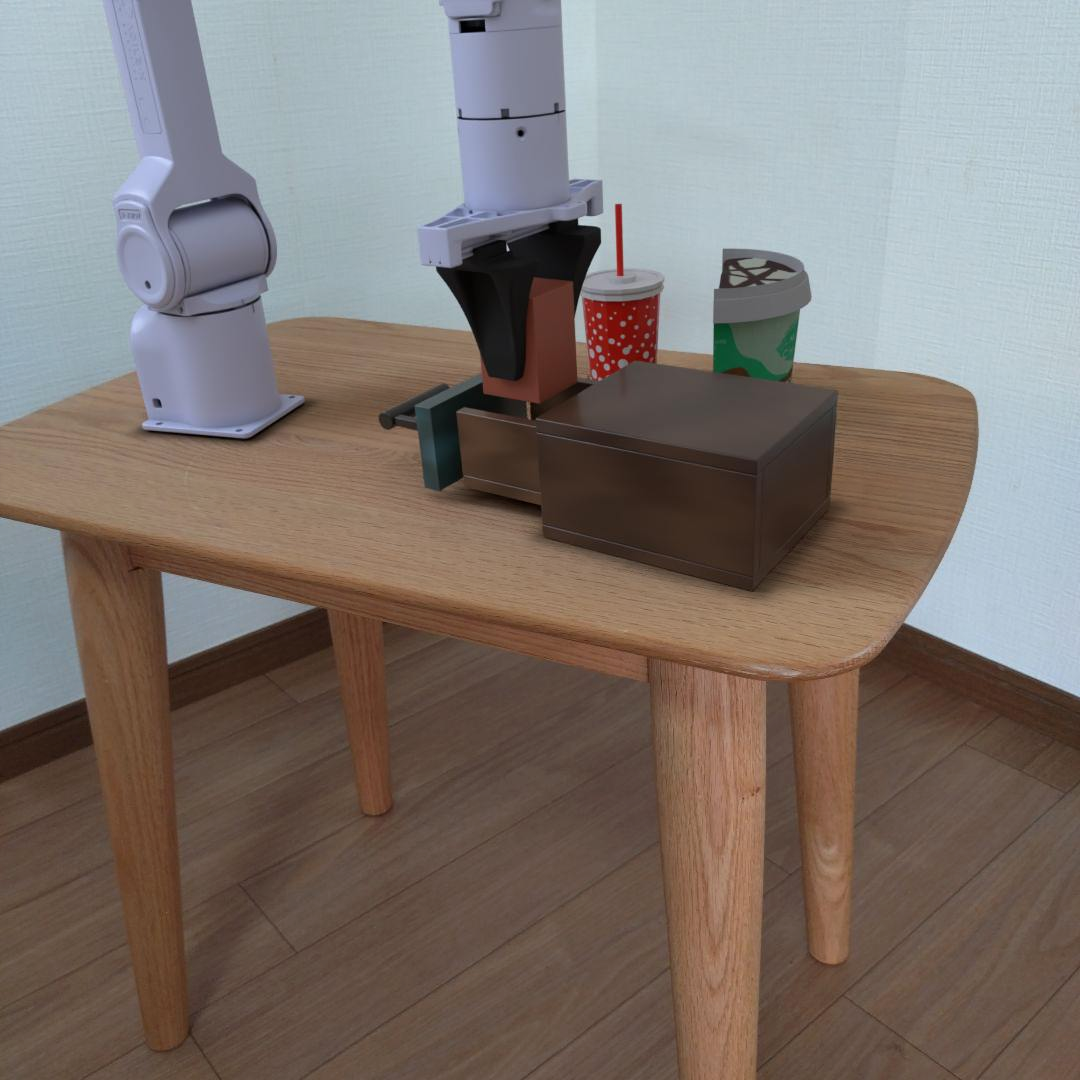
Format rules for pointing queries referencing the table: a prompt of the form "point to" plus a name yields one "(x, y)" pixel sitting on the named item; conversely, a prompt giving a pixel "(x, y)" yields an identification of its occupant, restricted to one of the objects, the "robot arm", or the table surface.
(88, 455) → the table surface
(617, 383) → the cabinet
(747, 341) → the food container
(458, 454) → the drawer
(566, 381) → the block
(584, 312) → the beverage cup
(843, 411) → the table surface
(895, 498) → the table surface
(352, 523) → the table surface
